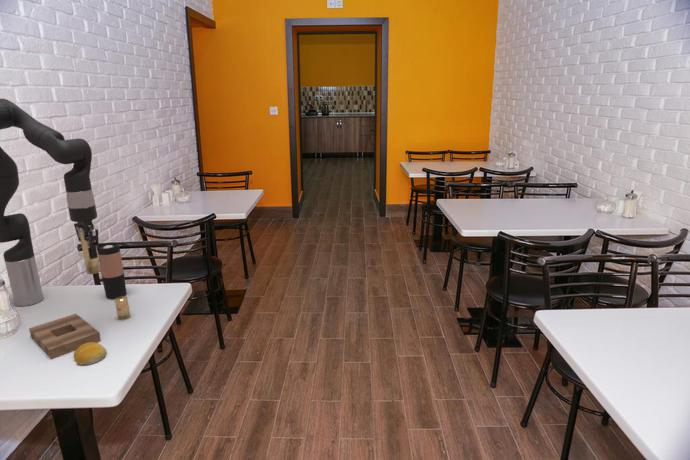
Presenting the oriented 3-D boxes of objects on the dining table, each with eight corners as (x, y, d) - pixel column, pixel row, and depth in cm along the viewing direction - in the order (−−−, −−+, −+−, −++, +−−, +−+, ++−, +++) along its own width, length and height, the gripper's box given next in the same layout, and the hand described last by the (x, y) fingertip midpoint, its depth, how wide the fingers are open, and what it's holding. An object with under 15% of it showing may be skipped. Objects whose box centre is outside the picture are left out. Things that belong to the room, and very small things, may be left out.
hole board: (30, 336, 157) (28, 328, 157) (77, 321, 167) (75, 313, 166) (51, 358, 144) (49, 349, 143) (100, 340, 154) (99, 332, 153)
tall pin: (84, 272, 159) (77, 230, 155) (97, 268, 162) (90, 227, 158) (89, 275, 157) (81, 232, 153) (102, 271, 159) (95, 230, 155)
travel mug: (100, 298, 185) (91, 247, 180) (116, 290, 192) (108, 241, 187) (116, 300, 183) (107, 249, 177) (131, 292, 189) (123, 243, 184)
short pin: (115, 317, 169) (112, 298, 167) (127, 313, 172) (124, 295, 170) (120, 321, 167) (117, 302, 165) (132, 317, 169) (129, 298, 167)
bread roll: (80, 369, 139) (77, 357, 138) (72, 357, 145) (69, 345, 144) (110, 358, 144) (108, 346, 143) (101, 347, 150) (99, 335, 149)
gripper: (60, 203, 155) (70, 254, 160) (77, 210, 146) (87, 265, 150) (85, 199, 160) (94, 249, 165) (103, 205, 151) (112, 258, 156)
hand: (91, 256), depth 158 cm, fingers closed on tall pin, 4 cm apart
